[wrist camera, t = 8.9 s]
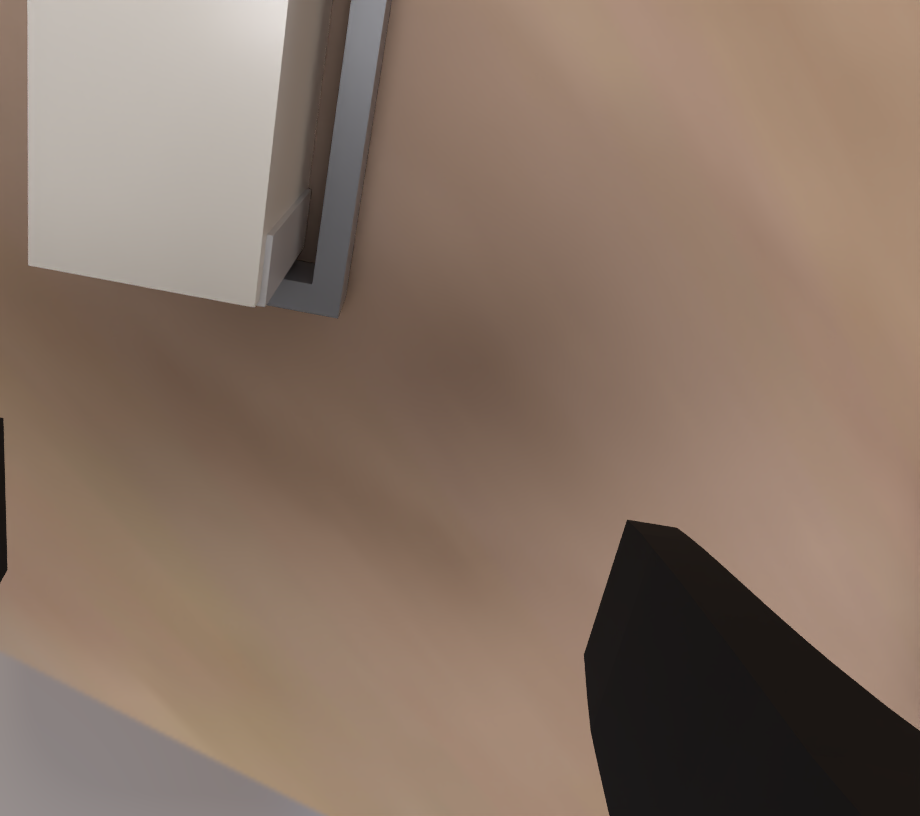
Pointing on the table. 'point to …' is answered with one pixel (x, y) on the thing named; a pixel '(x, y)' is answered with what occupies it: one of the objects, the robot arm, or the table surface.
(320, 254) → the fuse holder
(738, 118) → the table surface
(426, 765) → the table surface
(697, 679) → the robot arm
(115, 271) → the block
